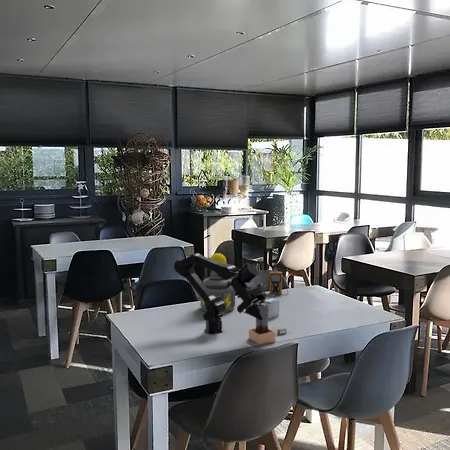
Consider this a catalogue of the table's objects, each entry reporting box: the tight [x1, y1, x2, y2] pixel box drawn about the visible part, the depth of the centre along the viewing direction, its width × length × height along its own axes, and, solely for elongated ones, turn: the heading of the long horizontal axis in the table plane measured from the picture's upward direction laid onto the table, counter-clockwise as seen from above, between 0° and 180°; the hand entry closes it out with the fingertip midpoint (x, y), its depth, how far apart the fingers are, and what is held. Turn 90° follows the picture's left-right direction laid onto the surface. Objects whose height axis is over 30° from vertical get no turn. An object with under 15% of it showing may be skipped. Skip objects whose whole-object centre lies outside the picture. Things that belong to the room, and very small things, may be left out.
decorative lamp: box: [200, 252, 236, 314], centre depth 262 cm, size 19×19×30 cm
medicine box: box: [264, 297, 280, 319], centre depth 247 cm, size 8×4×9 cm, turn 141°
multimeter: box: [263, 260, 289, 297], centre depth 293 cm, size 15×10×20 cm
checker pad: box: [268, 326, 293, 337], centre depth 223 cm, size 10×10×2 cm
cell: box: [255, 303, 269, 334], centre depth 211 cm, size 5×5×12 cm
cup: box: [248, 327, 276, 345], centre depth 211 cm, size 8×8×4 cm
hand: (264, 318), depth 210 cm, fingers closed on cell, 5 cm apart
